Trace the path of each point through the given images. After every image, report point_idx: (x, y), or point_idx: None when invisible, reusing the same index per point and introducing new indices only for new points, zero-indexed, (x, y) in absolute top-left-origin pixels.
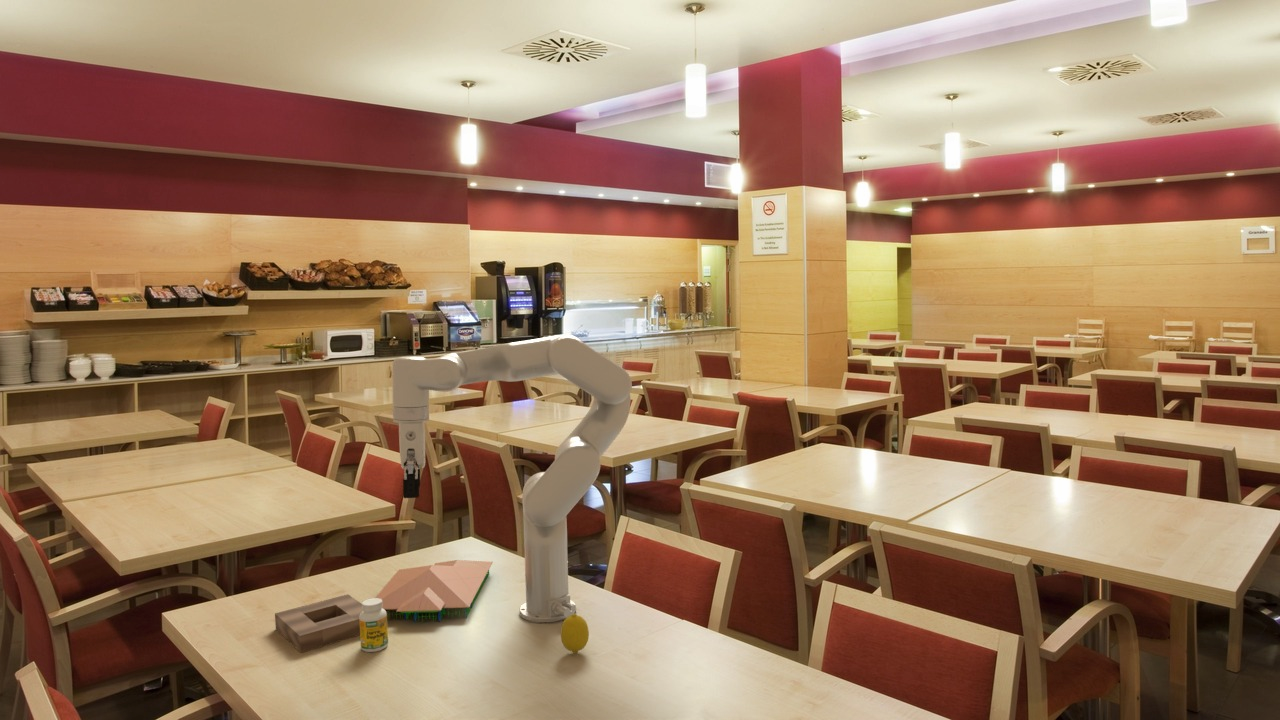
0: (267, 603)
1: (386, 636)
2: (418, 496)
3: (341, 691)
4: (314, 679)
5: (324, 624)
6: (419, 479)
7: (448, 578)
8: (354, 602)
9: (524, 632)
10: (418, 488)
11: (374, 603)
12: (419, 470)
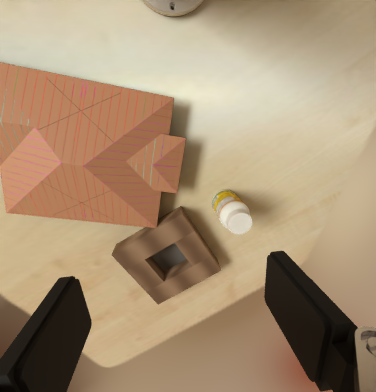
0: (90, 316)
1: (232, 193)
2: (283, 252)
3: (304, 212)
4: (273, 236)
5: (198, 257)
6: (50, 305)
7: (96, 132)
8: (140, 242)
9: (236, 14)
10: (306, 277)
11: (247, 220)
12: (15, 366)
